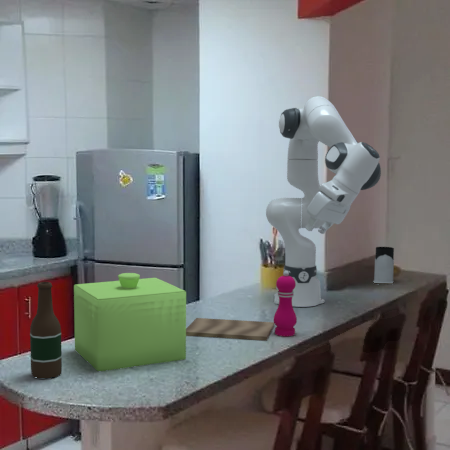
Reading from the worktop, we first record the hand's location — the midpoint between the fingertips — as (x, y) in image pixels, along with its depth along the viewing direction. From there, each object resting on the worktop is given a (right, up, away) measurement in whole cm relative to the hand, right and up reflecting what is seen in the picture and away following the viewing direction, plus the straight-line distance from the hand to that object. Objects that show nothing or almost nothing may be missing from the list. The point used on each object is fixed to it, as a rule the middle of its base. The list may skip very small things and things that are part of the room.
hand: (314, 231), depth 224 cm
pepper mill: (-8, -32, +9) cm, 34 cm away
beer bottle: (-73, -37, -33) cm, 88 cm away
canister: (-54, -35, -15) cm, 66 cm away
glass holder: (+41, -23, +95) cm, 106 cm away
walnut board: (-25, -31, +12) cm, 42 cm away
